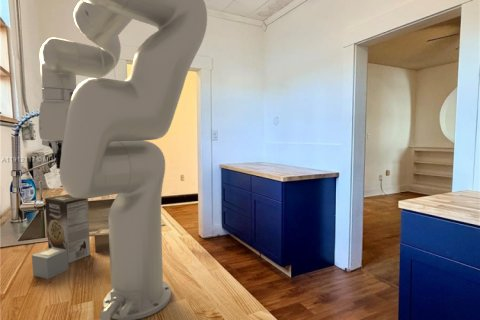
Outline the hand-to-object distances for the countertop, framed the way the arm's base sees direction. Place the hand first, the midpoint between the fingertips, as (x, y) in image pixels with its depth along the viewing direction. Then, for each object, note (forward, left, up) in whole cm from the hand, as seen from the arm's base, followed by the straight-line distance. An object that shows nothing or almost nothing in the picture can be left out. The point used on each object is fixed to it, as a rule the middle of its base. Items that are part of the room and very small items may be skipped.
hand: (63, 167), depth 74 cm
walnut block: (+6, -7, -24) cm, 26 cm away
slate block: (-9, -2, -24) cm, 26 cm away
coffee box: (0, 0, -24) cm, 24 cm away
